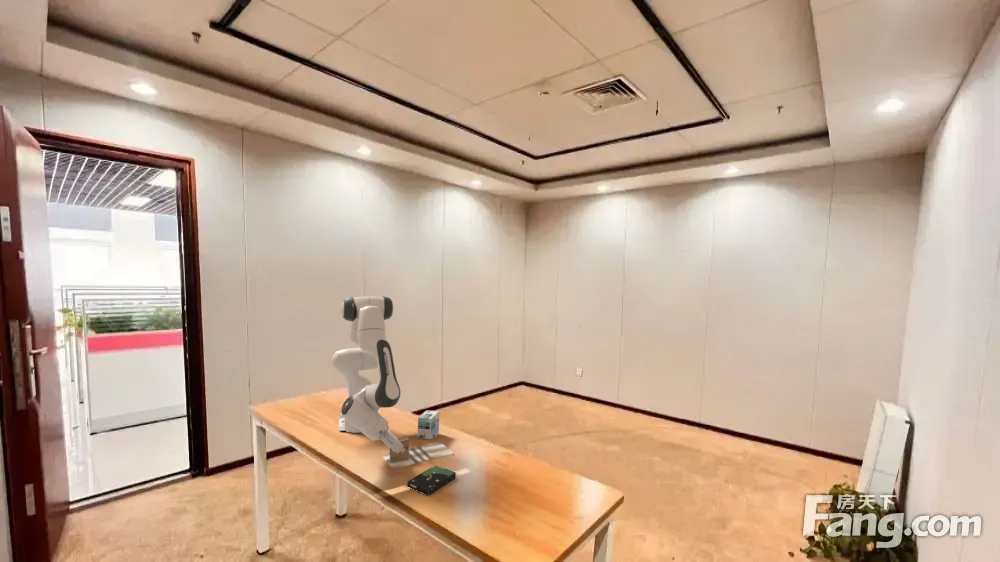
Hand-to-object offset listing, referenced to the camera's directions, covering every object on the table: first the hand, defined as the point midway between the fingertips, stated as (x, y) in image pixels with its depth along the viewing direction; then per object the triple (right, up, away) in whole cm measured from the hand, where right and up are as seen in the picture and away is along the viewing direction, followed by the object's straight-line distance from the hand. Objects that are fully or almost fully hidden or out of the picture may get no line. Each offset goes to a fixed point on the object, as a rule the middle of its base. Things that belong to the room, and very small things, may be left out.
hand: (400, 447), depth 161 cm
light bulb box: (+7, -6, +25) cm, 27 cm away
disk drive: (+15, -7, -15) cm, 23 cm away
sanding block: (-1, -4, 0) cm, 4 cm away
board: (+6, -6, +4) cm, 9 cm away
